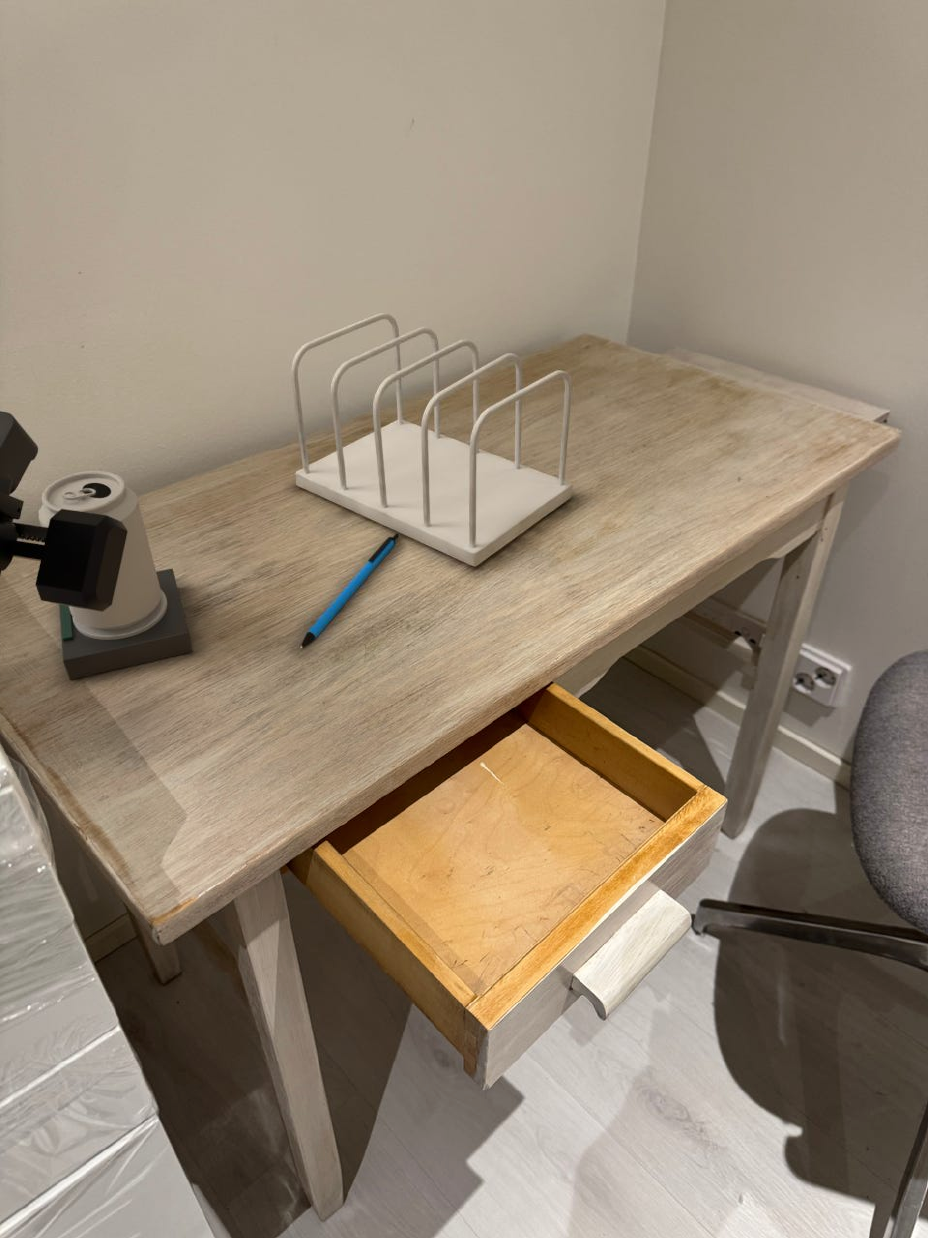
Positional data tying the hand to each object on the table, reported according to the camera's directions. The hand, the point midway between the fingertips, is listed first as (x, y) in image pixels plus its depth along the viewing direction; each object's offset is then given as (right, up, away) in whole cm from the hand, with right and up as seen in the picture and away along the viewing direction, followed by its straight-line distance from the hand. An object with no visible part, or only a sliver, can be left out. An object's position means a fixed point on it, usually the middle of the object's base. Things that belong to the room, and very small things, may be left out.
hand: (60, 567), depth 68 cm
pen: (+20, -1, +16) cm, 26 cm away
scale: (+1, -5, +11) cm, 12 cm away
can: (+1, -3, +9) cm, 10 cm away
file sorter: (+27, +10, +29) cm, 41 cm away
